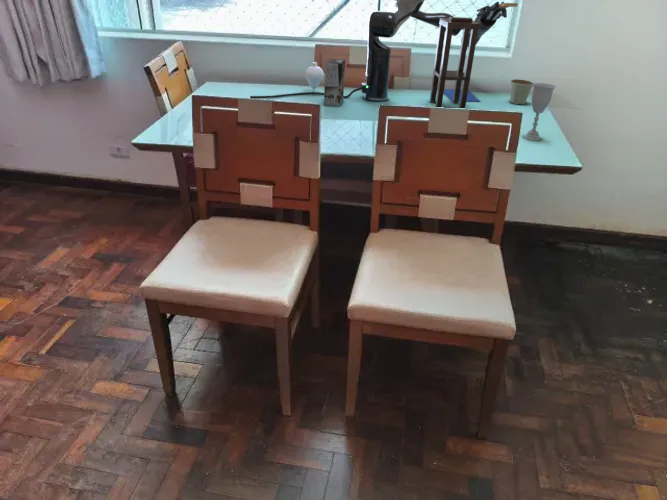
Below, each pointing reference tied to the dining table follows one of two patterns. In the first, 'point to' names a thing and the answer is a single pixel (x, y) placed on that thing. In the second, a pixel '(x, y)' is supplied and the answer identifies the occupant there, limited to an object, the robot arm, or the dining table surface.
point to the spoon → (507, 5)
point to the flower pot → (520, 91)
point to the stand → (459, 74)
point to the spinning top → (314, 75)
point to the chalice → (539, 105)
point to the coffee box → (334, 82)
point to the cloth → (469, 96)
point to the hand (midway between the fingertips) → (500, 4)
